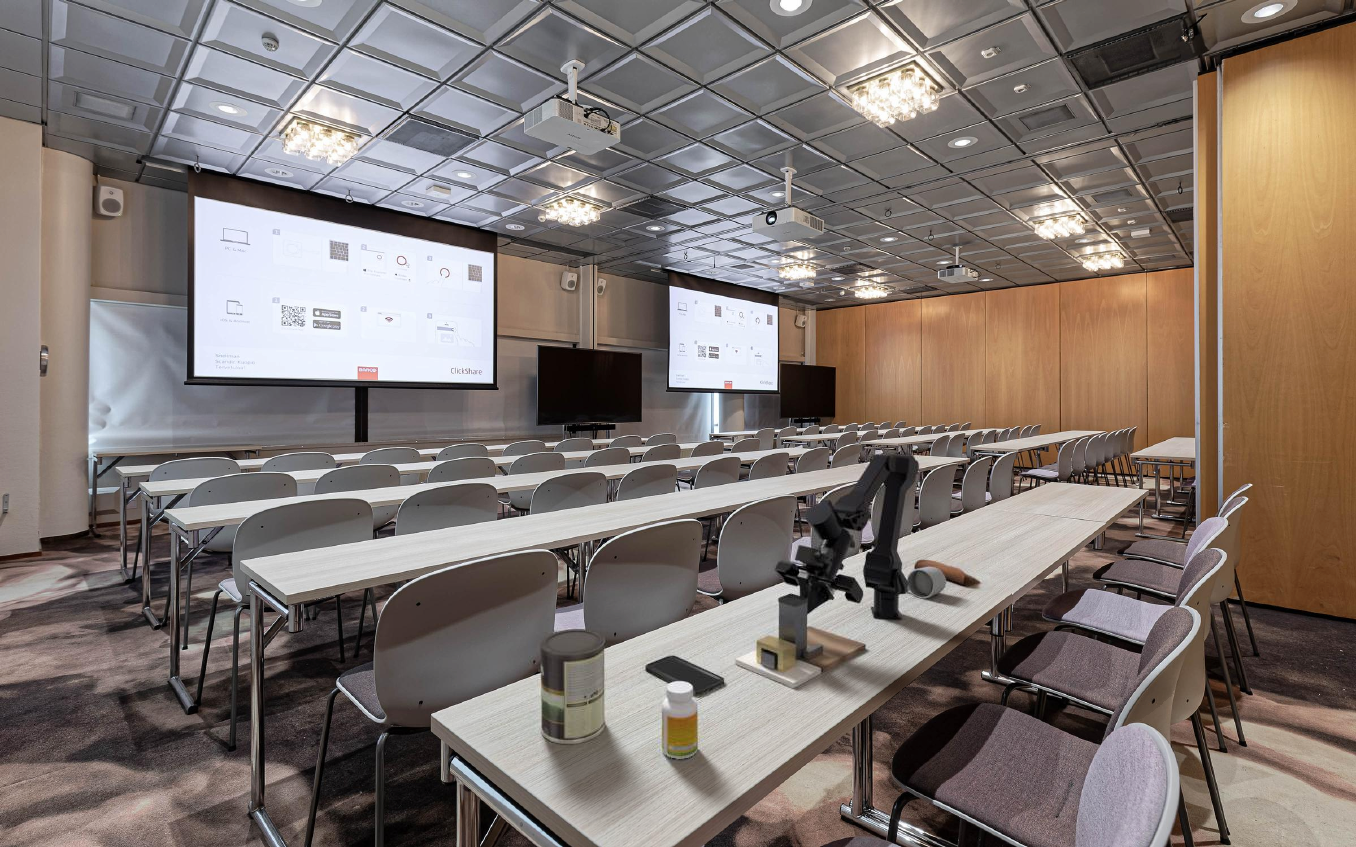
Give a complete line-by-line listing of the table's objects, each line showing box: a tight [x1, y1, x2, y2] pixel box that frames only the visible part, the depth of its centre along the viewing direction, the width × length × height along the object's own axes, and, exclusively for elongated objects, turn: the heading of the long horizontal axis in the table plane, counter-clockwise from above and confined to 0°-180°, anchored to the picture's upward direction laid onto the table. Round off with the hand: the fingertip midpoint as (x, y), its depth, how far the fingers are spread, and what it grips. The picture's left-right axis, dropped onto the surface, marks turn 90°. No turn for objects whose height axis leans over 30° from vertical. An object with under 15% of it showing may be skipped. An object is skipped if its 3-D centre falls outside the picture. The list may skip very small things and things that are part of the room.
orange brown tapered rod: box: [913, 559, 982, 588], centre depth 181 cm, size 18×7×7 cm
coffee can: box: [539, 628, 606, 745], centre depth 99 cm, size 10×10×14 cm
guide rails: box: [804, 644, 823, 661], centre depth 125 cm, size 5×7×2 cm
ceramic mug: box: [906, 567, 947, 600], centre depth 165 cm, size 11×8×8 cm
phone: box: [644, 654, 725, 697], centre depth 117 cm, size 8×1×15 cm
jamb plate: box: [734, 649, 822, 689], centre depth 120 cm, size 9×14×1 cm, turn 44°
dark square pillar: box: [762, 592, 808, 669], centre depth 121 cm, size 10×4×12 cm, turn 134°
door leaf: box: [798, 625, 867, 673], centre depth 129 cm, size 16×14×1 cm
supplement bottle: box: [661, 681, 699, 760], centre depth 92 cm, size 5×5×10 cm
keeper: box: [755, 634, 796, 673], centre depth 119 cm, size 4×6×4 cm, turn 43°
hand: (800, 616), depth 125 cm, fingers closed
